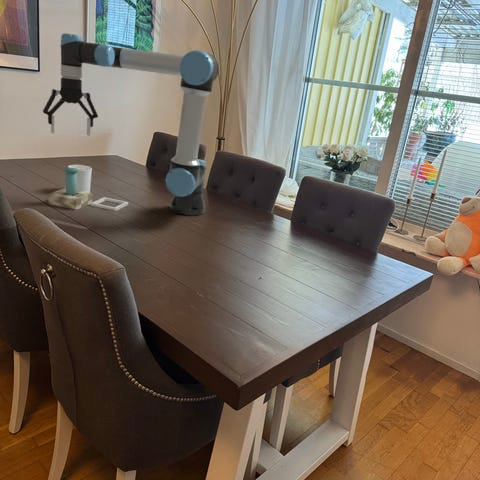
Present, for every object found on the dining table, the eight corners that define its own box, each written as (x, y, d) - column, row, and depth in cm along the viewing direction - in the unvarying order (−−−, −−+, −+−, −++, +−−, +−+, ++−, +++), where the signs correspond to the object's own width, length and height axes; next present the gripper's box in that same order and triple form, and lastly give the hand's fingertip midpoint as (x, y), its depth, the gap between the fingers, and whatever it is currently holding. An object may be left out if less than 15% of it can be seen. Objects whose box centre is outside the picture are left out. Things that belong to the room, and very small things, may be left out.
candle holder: (76, 198, 190) (76, 170, 185) (62, 192, 195) (63, 165, 191) (95, 195, 197) (96, 169, 193) (82, 190, 202) (83, 164, 198)
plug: (79, 202, 182) (80, 169, 177) (72, 205, 177) (73, 171, 172) (69, 200, 182) (69, 166, 178) (62, 203, 178) (62, 168, 173)
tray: (127, 206, 189) (128, 202, 188) (115, 213, 179) (115, 208, 178) (104, 201, 191) (104, 197, 190) (90, 207, 181) (90, 203, 180)
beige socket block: (92, 204, 185) (92, 193, 183) (76, 212, 174) (76, 199, 172) (66, 199, 187) (66, 187, 185) (48, 206, 176) (48, 193, 174)
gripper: (102, 81, 180) (100, 134, 187) (34, 73, 168) (35, 130, 175) (106, 82, 174) (104, 137, 181) (37, 74, 162) (38, 133, 169)
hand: (70, 134), depth 178 cm, fingers open, 13 cm apart
